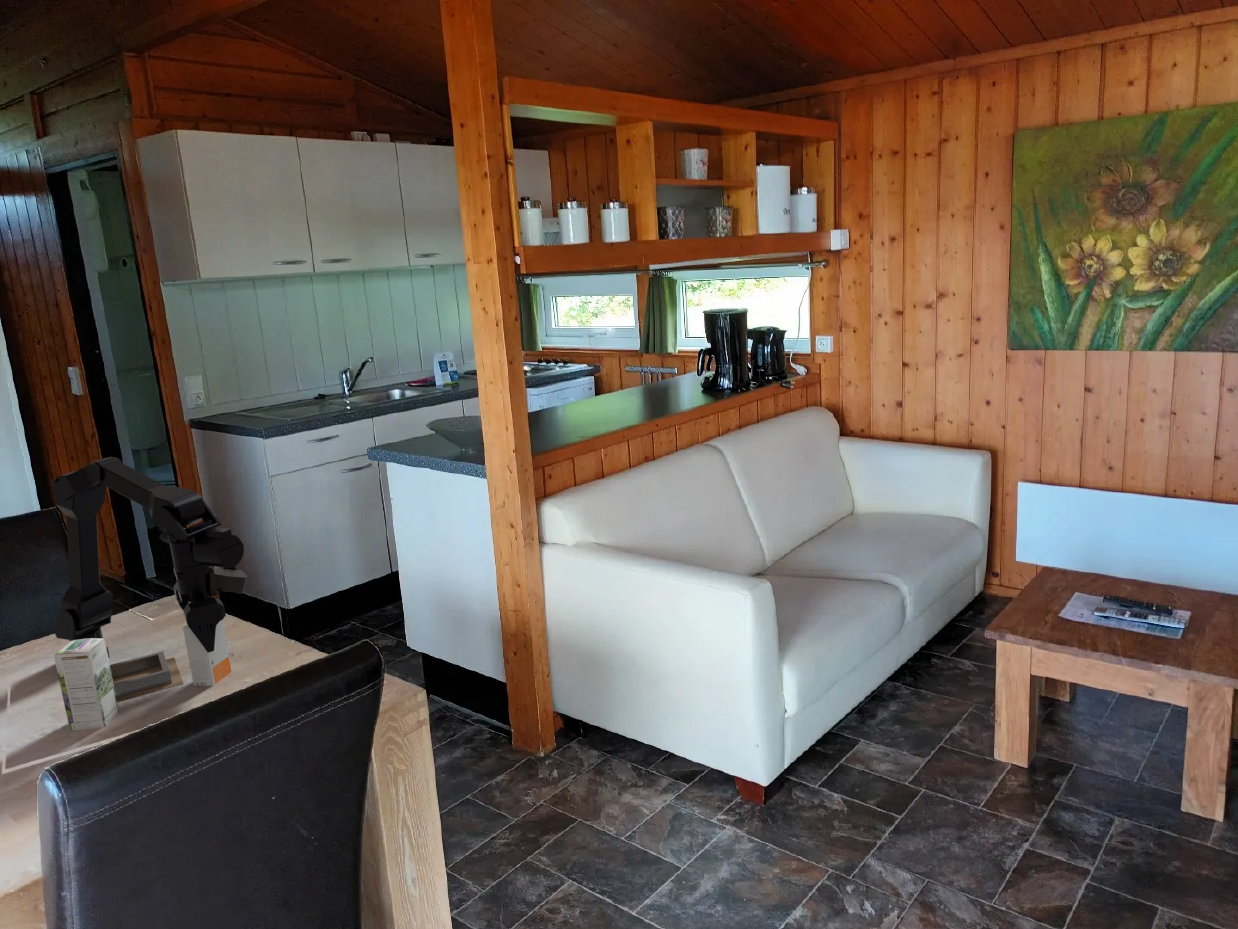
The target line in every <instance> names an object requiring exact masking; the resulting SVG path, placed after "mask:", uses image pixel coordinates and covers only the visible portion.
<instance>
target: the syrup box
mask: <svg viewBox="0 0 1238 929" xmlns="http://www.w3.org/2000/svg"><path fill="white" fill-rule="evenodd" d="M106 647H107V645H106V640H105V638H103V639H102V638H89V639H79V640H74V641H70V642H68V643H67V644H66V645H65V646H63V647H62V648H61V649H60V650H59V651H58V652H56V654H54V656H53V658H54V663H55V667H56V671H57V676H58V681H59V686H60V690H61V696H62V701H63V704H64V709H65V714H66V717H67V723H68V727H69V731H70V732H72V731H74V732H75V731H82V730H90V729H99V728H105V727H106V726H107V725H108V724H109V723H110V722H111V721H112V719H113V718H114V717H115V716H116V715H117V714H118V713H119V711H120V709H119V704H118V703H119V702H118V703H117V699H116V694H115V689H114V684H113V679H112V674H111V669H110V665H111V663H110V660H109V658H108V654H107V650H106Z"/></svg>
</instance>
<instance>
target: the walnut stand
mask: <svg viewBox="0 0 1238 929" xmlns="http://www.w3.org/2000/svg"><path fill="white" fill-rule="evenodd" d="M165 659H166V658H165ZM166 662H167V665H168V668H169V671H170V676H171V681H172V683H171V684H167V685H164V686H160V687H156V688H153V689H149V690H146V691H142V692H138V693H135V694H131V695H128V696H124V697H120V698H117V703H121V702H124V701H128V700H132V699H135V698H138V697H139V698H140V697H142V696H147V695H149V694H153V693H156V692H159V691H164V690H167V689H168V690H169V689H171V688H175V687H177V686H182V685H184V681H183V678H182V675H181V672H180V669H179V667H178V664H177V662H176V658H175V657H171V658H167V659H166ZM159 671H162V670H161V667H156V668H152V669H149V670H145V671H141V672H138V673H134V674H130V675H126V676H123V677H119V678H115V679H113V684H114V683H118V682H122V681H125V680H129V679H133V678H136V677H140V676H144V675H148V674H151V673H155V672H159Z"/></svg>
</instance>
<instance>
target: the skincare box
mask: <svg viewBox="0 0 1238 929" xmlns="http://www.w3.org/2000/svg"><path fill="white" fill-rule="evenodd" d="M182 630H183V635H184V640H185V644H186V646H185V647H186V652H187V656H188V662H189V668H190V672H191V677H192V684H193V686H202V687H204V686H205V687H214V686H215V685H216V684H218V683H219V682H220V681H221V680H224V678H225V677H227V676H228V675H230V673H232V672H233V668H232V662H231V656H230V651H229V646H228V645H229V644H228V640H227V638H228V637H227V634H226V628H225V622H224V619H223V620H221V621H220V622H219V623H218V624H217V625H216V633H215V646H214V651H213V652H209V653H208V652H207V651H206V650H205V648H204V647H203V645H202V644H201V643H200V641H199V640H198V639H197V637H196V636H195V635H194V633H193V632H192V631H191V629H190V628H189V627H188V625H187V624H186V625H185V626H183V627H182Z"/></svg>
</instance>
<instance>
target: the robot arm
mask: <svg viewBox="0 0 1238 929" xmlns="http://www.w3.org/2000/svg"><path fill="white" fill-rule="evenodd" d="M107 488H108V489H110V490H112V491H114V492H116V493H118V494H120V495H121V496H123V497H124V498H127V499H129V500H130V501H132V502H134V503H136V504H138V505H140V506H142V507H143V508H144V509H146V510H148V511H149V515H150V518H151V520H153V521H154V522H155V523H157V524H158V525H159V526H161V527H162V528H163V529H164V531H163V532H161V534H160V535H159V539H160V540H164V541H168V543H169V548H170V553H171V557H172V563H173V572H174V575H175V578H176V582H175V584H174V586H173V591H174V596H175V598H176V601H177V604H178V606H179V607H180V608H181V610H182V611H183V615H184V620H185V622H186V625H188V627H189V628H190V629H191V631H192V632H193V633H194V635H195V636H196V637H197V639H198V640H199V641H200V643H201V644H202V645H203V647H204V648H205V650H206V651H207V652H208V653H209V652H213V651H214V646H215V633H216V625H217V624H218V623H219V622H220V621H221V620H223V621H224V619H225V617H227V614H226V610H225V609H226V608H225V606H224V604H223V601H222V600H220V599H219V598H217V597H214V596H218V595H220V594H219V592H227V593H236V594H239V595H240V594H244V593H245V590H246V583H247V580H248V575H247V574H246V573H245V571H244V570H242V569H237V568H236V566H238V565H239V564H240V562H241V561H242V559H243V557H244V552H245V547H244V542H242V540H241V538H240V537H238V536H236V534H235V535H234V534H232V530H231V528H229V527H223V528H219V527H221V526H222V523H221V521H220V520H219V519H218V518H217V517H218V515H216V513H214V512H213V511H212V509H211V508H210V506H208V504H207V503H206V502H205V500H204V498H203V496H202V495H200V493H198V492H196V491H195V490H191V489H189V488H185V487H182V486H181V487H180V486H179V487H177V486H168V485H165V484H162V483H160V482H158V481H157V480H155V479H154V478H152V477H149V476H147V475H145V474H143V472H140V471H138V470H136V469H134V468H133V467H130V466H128V465H126V464H125V463H123V461H122V460H121V459H120V458H119V457H116V456H115V457H114V456H109V457H105V458H102V459H98V460H94V461H92V462H91V463H89V464H87V465H85V466H84V467H83V468H80V469H77V470H75V471H71V472H68V473H65V474H64V473H63V474H61V475H58V476H56V477H55V478H54V479H53V481H52V493H53V496H54V502H55V505H56V506H57V507H58V509H59V510H60V512H62V513H63V515H65V518H66V519H65V521H66V536H67V538H66V539H67V550H68V551H67V552H68V567H69V568H68V569H69V586H68V588H67V589H66V591H65V593H64V595H63V596H62V598H61V604H60V614H59V616H58V617H57V619H56V622H55V623H54V625H53V627H52V631H53V632H54V634H55V637H56V638H57V639H61V640H67V641H69V642H70V641H74V640H79V639H89V638H102V639H104V635H103V631H102V628H103V627H104V626H106V625H110V624H111V623H112V612H113V610H115V607H114V604H113V598H114V594H113V591H110V590H107V589H106V587H104V585H103V584H102V583H101V580H100V578H101V577H100V576H101V575H100V559H99V558H100V555H99V553H100V552H99V538H98V535H99V532H98V513H99V512H100V510H101V508H102V507H103V504H104V503H105V501H106V497H107V496H106V495H107ZM200 521H202V522H200ZM214 567H217V568H214ZM69 642H68V643H69ZM106 650H107V654H108V659H109V658H110V651H109V647H108V646H106Z"/></svg>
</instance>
